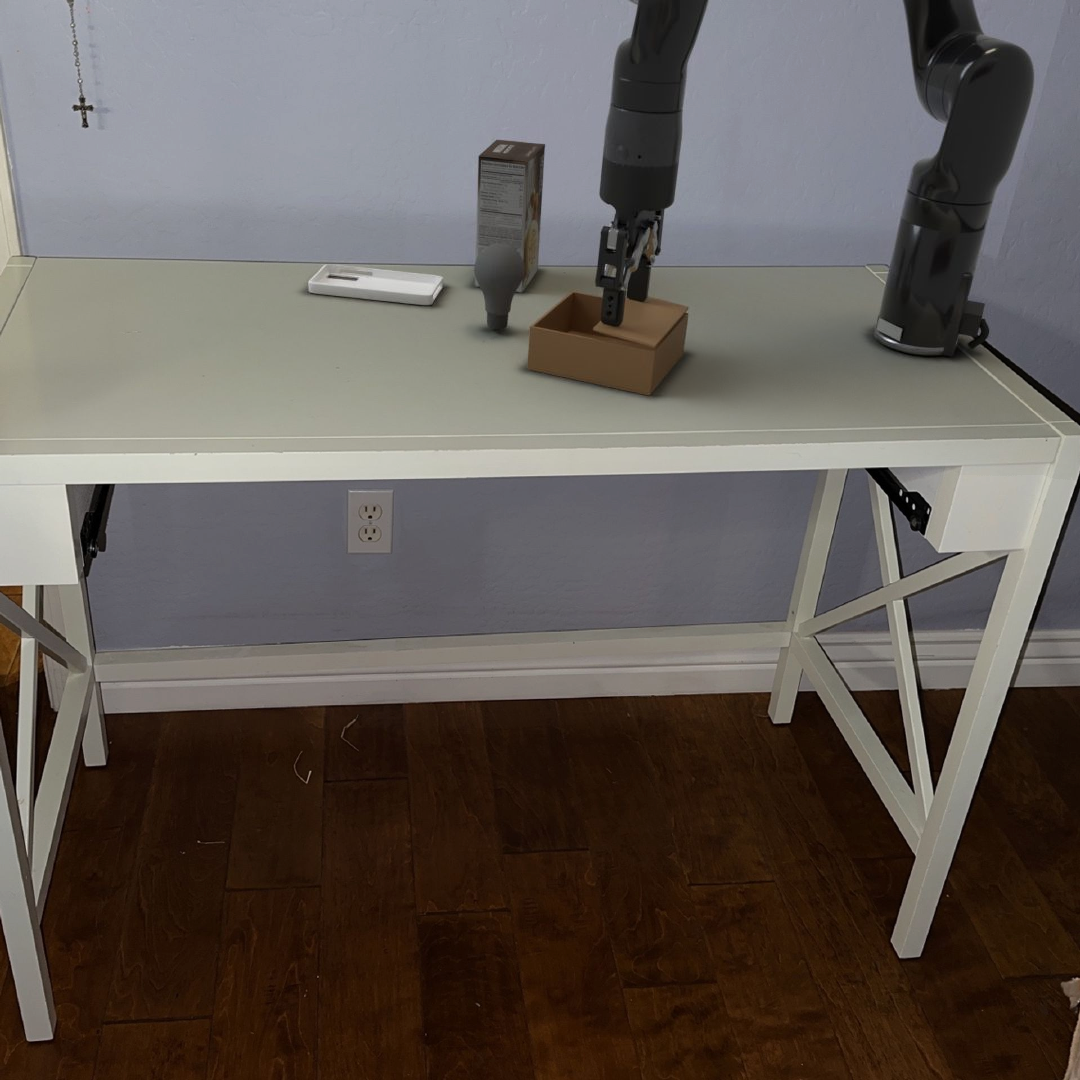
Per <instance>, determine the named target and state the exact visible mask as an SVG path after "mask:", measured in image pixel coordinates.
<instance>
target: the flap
mask: <svg viewBox="0 0 1080 1080" xmlns="http://www.w3.org/2000/svg"><path fill="white" fill-rule="evenodd" d="M689 309H690V306H686V305H682V304H680V303H676V302H672V301H668V300H664V299H660V298H657V297H654V296H650V295H648V297H647V299H646V300H645V301H643V302H640V301H635V300H630V299H628V298H627V295H626V298H625V307H624V317H623V322H622V323H621V324H620V325H619V326H612V325H607V324H603V323H602V322H601V321H600V322H599V323H598V324H597V325H596V326H595V327H594V328H593V330H594V331H597V332H601V333H605V334H608V335H612V336H615V337H619V338H622V339H626V340H629V341H633V342H636V343H640V344H643V345H647V346H650V347H654V348H655V347H656V346H657V345H658V343H659V342H660V341H661V340H662V339H663V338H664V337H665V335H666V334H667V333H668V332H669V331H670V330H671V329H672V327H673V326H674V325H675V324H676V323H677V322H678V321H679V319H680V318H681V317H682V316H683V315H684V314H685V313H687V311H688V310H689Z"/></svg>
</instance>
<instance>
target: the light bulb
mask: <svg viewBox="0 0 1080 1080" xmlns="http://www.w3.org/2000/svg"><path fill="white" fill-rule="evenodd" d="M473 272H474V278H475V277H476V279H477V282H478V284H479V286H480V287H479V288H480V290H481V291H482V295H483V299H484V309H485V312H486V325H487V328H489V329H490V330H492V331H493V332H495V333H499V332H502V331H503V330H505V329H506V328H507V327H508V323H509V322H508V321H509V313H510V312H511V308H512V303H513V299H514V296H515V294H516V293H517V292H516V290H517V289H518V287H519V285H520V284H521V282H522V280H523V277H524V272H525V266H524V262H523V259H522V257H521V255H520V254H519V252H518V251H517V250H516V249H514V248H513V247H511V246H509V245H507V244H502V243H497V244H492V245H489V246H487V247H486V248H484V249H483V250H482V251H481V252H480V253H479V255H478V256H477V258H476V257H475V261H474V266H473Z"/></svg>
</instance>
